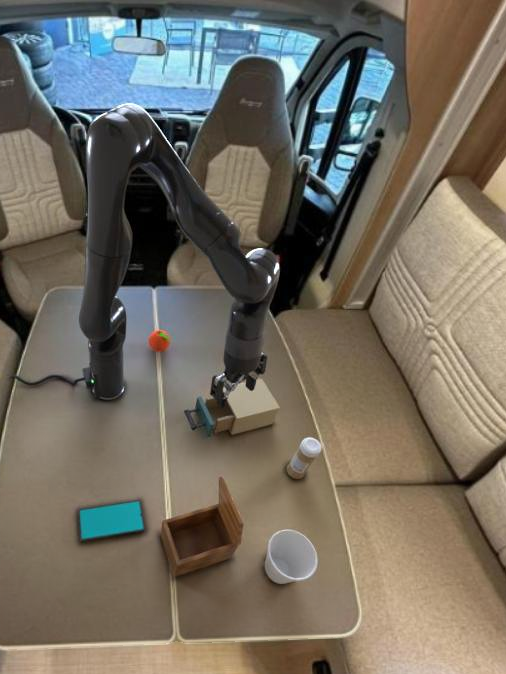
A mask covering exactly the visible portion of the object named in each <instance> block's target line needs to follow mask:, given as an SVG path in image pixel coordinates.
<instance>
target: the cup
mask: <svg viewBox="0 0 506 674" xmlns="http://www.w3.org/2000/svg"><path fill="white" fill-rule="evenodd" d="M318 561H319V560H318V554H317V550H316V549H315V546H314V545H313V544H312V542H311V540H309V538H307V537H306V536H305V535H304V534H302V533H301V532H299V531H297V530H294V529H282V530H279V531H277V532H275V533H274V534H273V535H272V536H271V537H270V538H269V541H268V545H267V554H266V558H265V561H264V570H265V573H266V575H267V577H268V578H269V579H270V580H271V581H272V582H274V583H276V584H278V585H285V584H289V583H293V582H303V581H306V580H308V579H310V578H311V577H313V575H314V574H315V573H316V571H317V569H318V563H319V562H318Z"/></svg>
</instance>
